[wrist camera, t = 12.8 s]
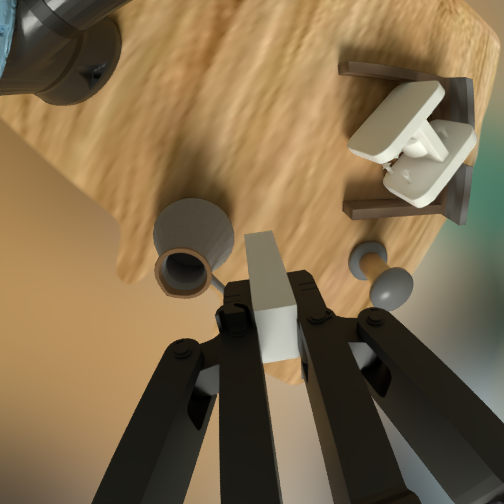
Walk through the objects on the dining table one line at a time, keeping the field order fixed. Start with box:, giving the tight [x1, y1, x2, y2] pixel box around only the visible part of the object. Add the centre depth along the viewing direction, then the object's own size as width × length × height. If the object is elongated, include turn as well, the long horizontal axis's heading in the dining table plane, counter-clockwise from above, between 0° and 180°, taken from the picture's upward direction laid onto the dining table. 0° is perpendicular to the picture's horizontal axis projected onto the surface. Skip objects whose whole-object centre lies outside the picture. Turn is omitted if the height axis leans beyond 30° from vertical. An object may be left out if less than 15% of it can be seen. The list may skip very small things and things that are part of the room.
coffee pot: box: [153, 198, 234, 299], centre depth 37 cm, size 21×12×15 cm, turn 51°
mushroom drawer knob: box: [348, 241, 413, 312], centre depth 42 cm, size 7×7×10 cm
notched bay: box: [338, 61, 475, 225], centre depth 34 cm, size 22×18×9 cm
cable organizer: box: [347, 81, 477, 208], centre depth 32 cm, size 15×11×12 cm
